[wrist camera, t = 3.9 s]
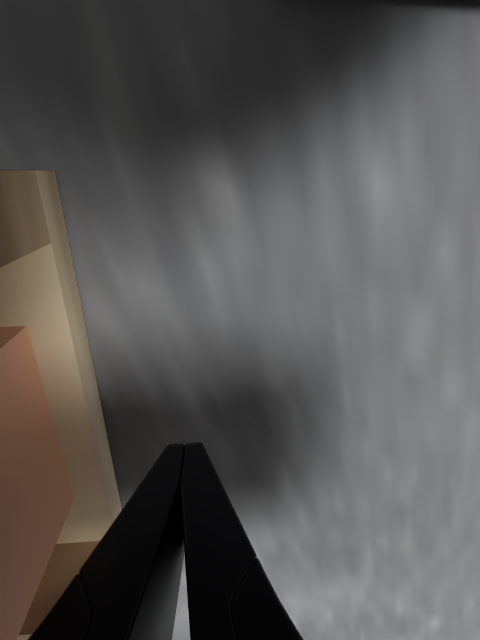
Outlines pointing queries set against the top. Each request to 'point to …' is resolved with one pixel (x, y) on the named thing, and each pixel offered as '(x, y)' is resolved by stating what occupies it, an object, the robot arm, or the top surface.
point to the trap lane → (56, 368)
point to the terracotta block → (26, 480)
